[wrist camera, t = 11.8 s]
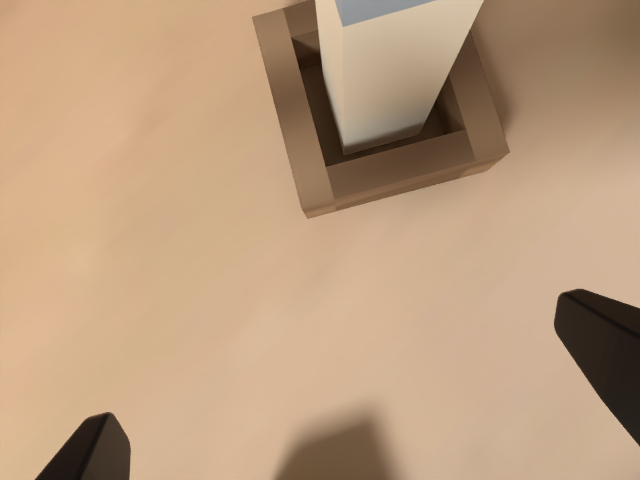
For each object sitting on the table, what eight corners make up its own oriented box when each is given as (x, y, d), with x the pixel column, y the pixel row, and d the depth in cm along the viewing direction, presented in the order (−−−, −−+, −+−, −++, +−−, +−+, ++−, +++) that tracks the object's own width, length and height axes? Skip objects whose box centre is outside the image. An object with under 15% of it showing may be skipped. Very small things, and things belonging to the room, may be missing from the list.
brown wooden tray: (487, 170, 22) (510, 152, 19) (307, 218, 22) (301, 207, 19) (434, 4, 23) (447, -39, 20) (264, 51, 23) (251, 17, 20)
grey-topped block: (418, 134, 22) (514, -63, 10) (343, 155, 22) (342, -14, 10) (397, 63, 22) (461, -211, 10) (324, 84, 23) (297, -162, 10)
